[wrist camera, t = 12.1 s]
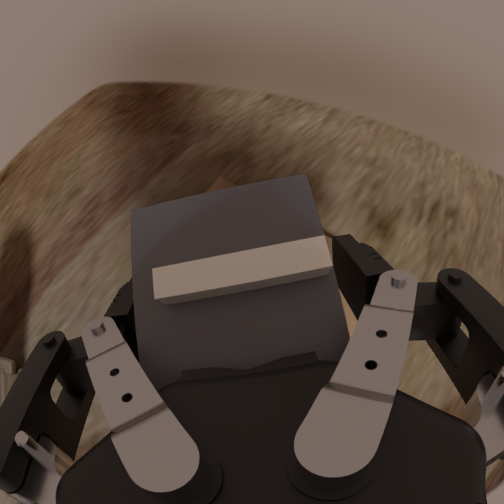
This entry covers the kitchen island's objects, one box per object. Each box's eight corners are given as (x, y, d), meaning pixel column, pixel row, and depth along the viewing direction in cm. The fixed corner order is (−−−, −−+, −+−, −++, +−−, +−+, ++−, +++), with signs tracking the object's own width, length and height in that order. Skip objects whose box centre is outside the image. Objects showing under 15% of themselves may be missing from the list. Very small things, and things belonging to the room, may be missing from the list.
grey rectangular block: (218, 374, 16) (130, 397, 6) (204, 285, 18) (120, 198, 8) (312, 358, 16) (363, 362, 6) (293, 268, 18) (307, 157, 8)
